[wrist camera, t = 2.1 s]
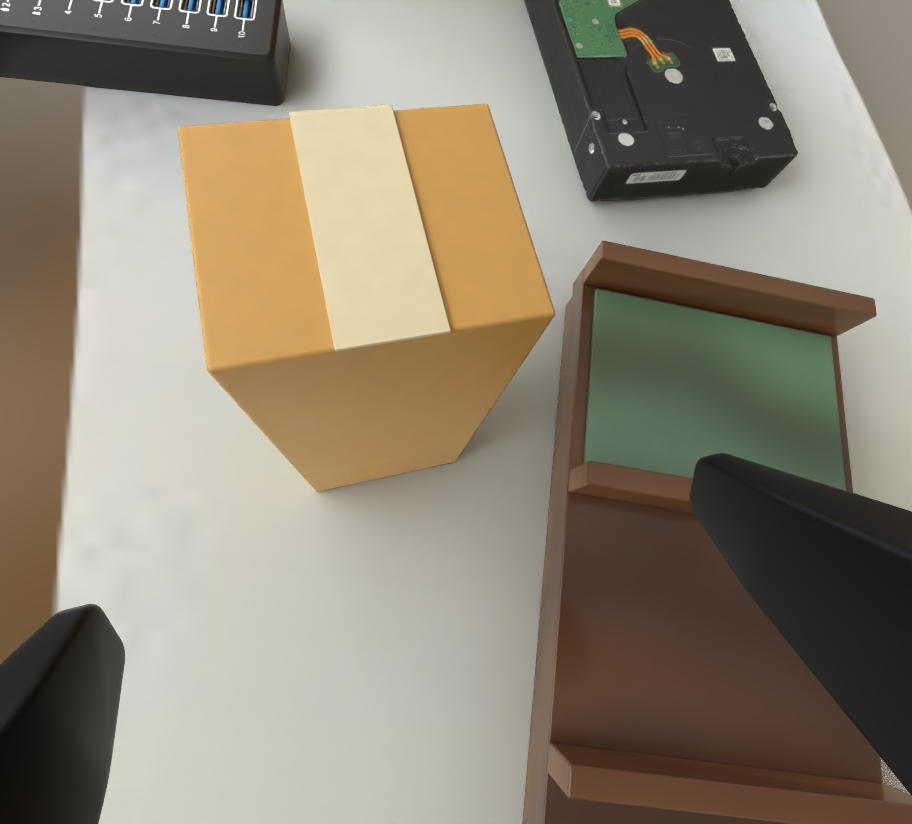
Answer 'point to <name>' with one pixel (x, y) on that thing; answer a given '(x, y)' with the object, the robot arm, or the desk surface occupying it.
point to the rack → (686, 557)
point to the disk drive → (660, 97)
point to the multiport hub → (151, 46)
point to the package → (362, 281)
